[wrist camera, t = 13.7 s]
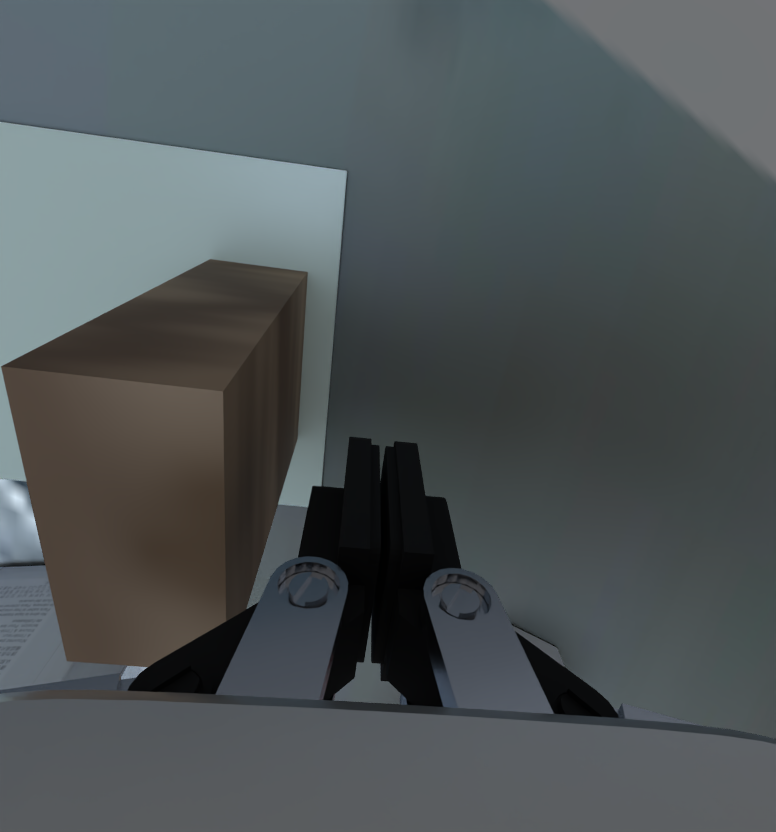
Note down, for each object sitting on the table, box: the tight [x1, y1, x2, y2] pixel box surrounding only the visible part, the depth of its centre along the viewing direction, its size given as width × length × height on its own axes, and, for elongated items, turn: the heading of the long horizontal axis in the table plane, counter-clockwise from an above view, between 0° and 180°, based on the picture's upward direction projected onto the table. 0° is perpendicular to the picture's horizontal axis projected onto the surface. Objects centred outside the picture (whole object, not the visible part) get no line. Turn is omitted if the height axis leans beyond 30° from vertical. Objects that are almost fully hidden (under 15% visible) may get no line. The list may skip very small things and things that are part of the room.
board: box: [0, 122, 347, 507], centre depth 19 cm, size 16×14×1 cm
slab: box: [1, 259, 308, 667], centre depth 14 cm, size 4×7×11 cm, turn 173°
